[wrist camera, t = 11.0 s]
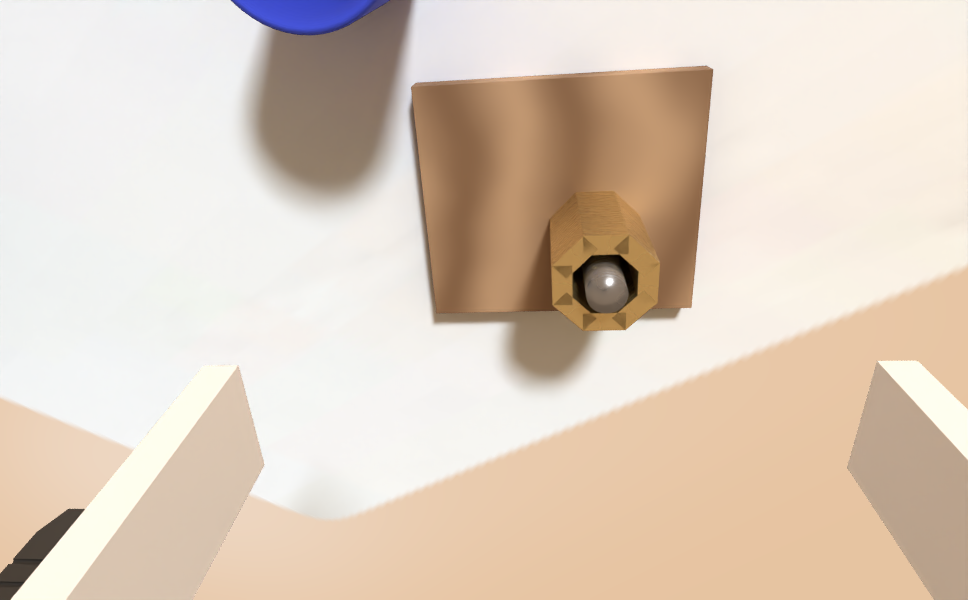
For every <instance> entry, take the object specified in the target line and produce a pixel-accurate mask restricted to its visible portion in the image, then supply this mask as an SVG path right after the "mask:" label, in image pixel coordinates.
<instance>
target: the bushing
mask: <svg viewBox="0 0 968 600" xmlns="http://www.w3.org/2000/svg"><path fill="white" fill-rule="evenodd" d="M550 254H551V279H552V304H553V306H554V307H555V308H556V309H558V310H559V311H560V312H561V313H562V314H564V315H565V316H566V317H567V318H568V319H569V320H571V321H572V322H573V323H574V324H575V325H577V326H578V327H579V328H580V329H581V330H582V331H599V330H626V329H627V328H628V327H630V326H631V325H632V324H633V323H634V322H635V321H637V320H638V319H639V318H640V317H641V316H643V315H644V314H645V313H646V312H647V311H648V310H650V309H651V308H652V307H653V306H654V305H656V304H657V303H658V288H659V272H660V262H659V259H658V257H657V255H656V252H655V250H654V248H653V245H652V243H651V241H650V238H649V236H648V234H647V231H646V229H645V226H644V224H643V222H642V219H641V217H640V215H639V214H638V213H637V212H636V211H635V210H634V209H633V208H632V207H630V206H629V205H628V204H627V203H626V202H625V201H624V200H623V199H622V198H621V197H620V196H619V195H618V194H617V193H616V192H614V191H596V192H576V193H575V194H574V195H573V196H572V197H571V198H570V199H569V200H568V201H567V202H566V203H565V204H564V205H563V206H562V207H561V208H560V209H559V210H558V211H557V212H556V213H555V214H554V215H553V216H552V217H551V218H550ZM614 254H618V257H619V260H620V264H621V267H622V271H623V274H624V278H625V281H626V285H627V288H628V300H627V302H626V304H625V305H624V306H623V307H622V308H621V309H620V310H618V311H616V312H613V313H607V314H606V313H600V312H597V311H595V310H594V309H592V308H591V307H590V305H589V304H588V302H587V298H586V292H585V285H584V278H583V271H582V264H583V263H584V262H585V261H586V260H587V259H588V258H589V257H590V256H591V255H614Z"/></svg>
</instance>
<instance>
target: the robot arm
mask: <svg viewBox="0 0 968 600" xmlns="http://www.w3.org/2000/svg"><path fill="white" fill-rule="evenodd" d="M263 467H264V461H263V457H262V453H261V450H260V446H259V442H258V438H257V434H256V431H255V427H254V423H253V419H252V415H251V412H250V408H249V404H248V400H247V396H246V392H245V389H244V385H243V381H242V377H241V373H240V370H239V366H238V365H217V366H203V367H202V368H201V370H200V371H199V372H198V373H197V374H196V376H195V377H194V378H193V379H192V381H191V382H190V383H189V384H188V385H187V387H186V388H185V389H184V390H183V391H182V393H181V394H180V395H179V396H178V397H177V399H176V400H175V401H174V402H173V404H172V405H171V406H170V407H169V408H168V410H167V411H166V412H165V413H164V414H163V416H162V417H161V418H160V419H159V421H158V422H157V423H156V424H155V425H154V427H153V428H152V429H151V430H150V431H149V433H148V434H147V435H146V436H145V437H144V439H143V440H142V441H141V442H140V444H139V445H138V446H137V447H136V448H135V450H134V451H133V452H132V453H131V455H130V456H129V457H128V458H127V459H126V461H125V462H124V463H123V464H122V465H121V467H120V468H119V469H118V470H117V471H116V473H115V474H114V475H113V476H112V477H111V479H110V480H109V481H108V483H107V484H106V485H105V486H104V487H103V488H102V490H101V491H100V492H99V493H98V494H97V496H96V497H95V498H94V499H93V501H92V502H91V503H90V504H89V505H88V507H87V508H86V509H68V510H66V511H65V512H64V513H62V514H61V515H60V516H58V517H57V518H56V519H54V520H53V521H51V522H50V523H48V524H47V525H46V526H44V527H43V528H42V529H40V530H39V531H38V532H36V534H35V535H34V536H33V537H32V538H31V539H30V540H29V542H28V543H27V544H26V545H25V546H24V547H23V548H22V550H21V551H20V552H19V553H18V554H17V555H16V556H15V558H14V559H13V560H14V561H13V563H12V564H8V565H7V567H6V568H5V569H4V570H3V571H2V572H1V573H0V600H193V598H194V596H195V594H196V592H197V590H198V588H199V587H200V585H201V583H202V581H203V579H204V577H205V575H206V573H207V571H208V570H209V568H210V566H211V564H212V562H213V560H214V558H215V557H216V555H217V553H218V551H219V549H220V547H221V545H222V543H223V541H224V540H225V538H226V536H227V534H228V532H229V530H230V528H231V527H232V525H233V523H234V521H235V519H236V517H237V515H238V513H239V512H240V510H241V508H242V506H243V504H244V502H245V500H246V498H247V497H248V495H249V493H250V491H251V489H252V487H253V485H254V483H255V482H256V480H257V478H258V476H259V474H260V472H261V470H262V468H263ZM847 468H848V470H849V471H850V473H851V474H852V476H853V477H854V479H855V480H856V482H857V483H858V485H859V486H860V488H861V489H862V491H863V492H864V494H865V495H866V497H867V498H868V500H869V501H870V503H871V504H872V506H873V508H874V509H875V511H876V512H877V514H878V515H879V517H880V518H881V520H882V521H883V523H884V524H885V526H886V527H887V529H888V530H889V532H890V533H891V535H892V536H893V538H894V540H895V541H896V542H897V544H898V546H899V547H900V549H901V550H902V552H903V553H904V555H905V556H906V558H907V559H908V561H909V562H910V564H911V565H912V567H913V568H914V570H915V571H916V573H917V574H918V576H919V577H920V579H921V581H922V582H923V584H924V585H925V587H926V588H927V590H928V591H929V593H930V594H931V596H932V597H933V599H934V600H968V410H967V409H966V408H965V407H964V406H963V405H962V404H961V403H960V402H959V401H958V400H957V399H956V398H955V397H954V396H953V395H952V394H951V393H950V392H949V391H948V390H947V389H946V388H945V387H943V385H941V383H940V382H939V381H938V380H936V379H935V378H934V377H933V376H932V375H931V374H930V373H929V372H928V371H927V370H926V369H925V368H924V367H923V366H922V365H921V364H920V363H919V362H918V361H877V363H876V367H875V370H874V374H873V378H872V381H871V385H870V388H869V392H868V395H867V399H866V402H865V406H864V410H863V413H862V417H861V420H860V424H859V427H858V431H857V435H856V438H855V442H854V445H853V449H852V452H851V456H850V460H849V463H848V467H847Z"/></svg>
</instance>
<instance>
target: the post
mask: <svg viewBox="0 0 968 600" xmlns="http://www.w3.org/2000/svg"><path fill="white" fill-rule="evenodd" d="M582 271H583V278H584V285H585V292H586V298H587V302H588V304H589V305H590V307H591V308H592V309H594V310H595V311H597V312H600V313H606V314H607V313H613V312H616V311H618V310H620V309H621V308H622V307H623V306H624V305H625V304H626V302H627V300H628V288H627V285H626V281H625V278H624V274H623V271H622V267H621V264H620V260H619V257H618V254H614V255H591V256H590V257H589V258H588V259H587V260H586V261H585V262H584V263H583V264H582Z"/></svg>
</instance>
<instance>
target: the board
mask: <svg viewBox="0 0 968 600" xmlns="http://www.w3.org/2000/svg"><path fill="white" fill-rule="evenodd" d="M712 77H713V69H712V68H710V67H708V66H696V67H679V68H662V69H645V70H627V71H610V72H593V73H576V74H559V75H542V76H525V77H508V78H491V79H474V80H457V81H440V82H422V83H415V84H414V85H413V86H412V87H411V90H412V99H413V108H414V117H415V126H416V135H417V144H418V153H419V162H420V170H421V179H422V188H423V197H424V206H425V215H426V224H427V233H428V242H429V251H430V259H431V268H432V277H433V286H434V295H435V304H436V313H471V312H517V311H559V310H558V309H556V308H555V307H554V306H553V304H552V279H551V254H550V218H551V217H552V216H553V215H554V214H555V213H556V212H557V211H558V210H559V209H560V208H561V207H562V206H563V205H564V204H565V203H566V202H567V201H568V200H569V199H570V198H571V197H572V196H573V195H574V194H575V193H576V192H596V191H614V192H616V193H617V194H618V195H619V196H620V197H621V198H622V199H623V200H624V201H625V202H626V203H627V204H628V205H629V206H630V207H632V208H633V209H634V210H635V211H636V212H637V213H638V214H639V215H640V217H641V219H642V222H643V224H644V226H645V229H646V231H647V234H648V236H649V238H650V241H651V243H652V245H653V248H654V250H655V252H656V255H657V257H658V259H659V262H660V272H659V288H658V303H657V304H656V305H654V306H653V307H652V308H651V309H656V308H691V306H692V295H693V284H694V273H695V262H696V251H697V241H698V230H699V219H700V208H701V197H702V186H703V175H704V164H705V153H706V142H707V132H708V121H709V110H710V99H711V88H712Z"/></svg>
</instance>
